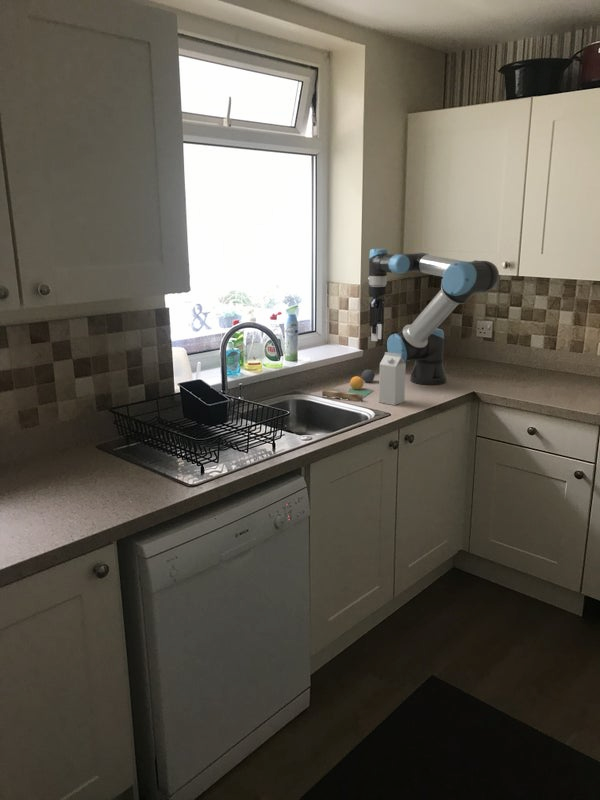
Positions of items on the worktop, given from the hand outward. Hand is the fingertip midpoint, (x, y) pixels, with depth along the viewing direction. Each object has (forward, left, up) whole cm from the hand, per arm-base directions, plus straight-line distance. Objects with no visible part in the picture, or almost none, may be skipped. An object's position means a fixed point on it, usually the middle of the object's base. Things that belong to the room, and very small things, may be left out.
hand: (376, 339), depth 285 cm
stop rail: (0, +40, -17) cm, 43 cm away
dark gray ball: (0, +10, -14) cm, 17 cm away
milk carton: (-19, +37, -17) cm, 45 cm away
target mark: (0, +31, -17) cm, 35 cm away
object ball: (0, +24, -14) cm, 28 cm away
